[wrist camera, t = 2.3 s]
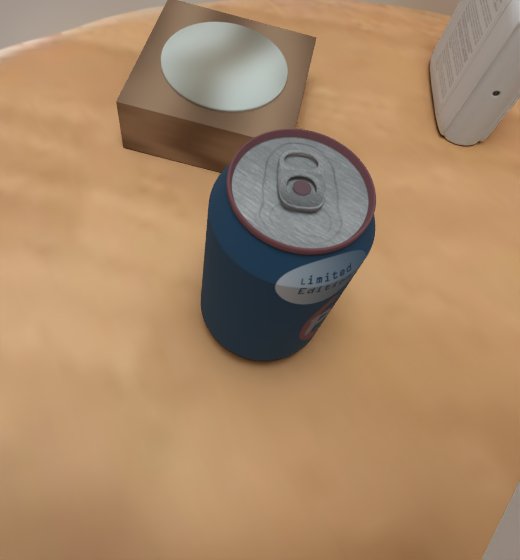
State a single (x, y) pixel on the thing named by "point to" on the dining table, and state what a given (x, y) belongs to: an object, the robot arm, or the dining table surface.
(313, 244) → the soda can
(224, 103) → the plinth
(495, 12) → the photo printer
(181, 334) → the dining table surface
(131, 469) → the dining table surface
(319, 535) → the dining table surface
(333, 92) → the dining table surface
